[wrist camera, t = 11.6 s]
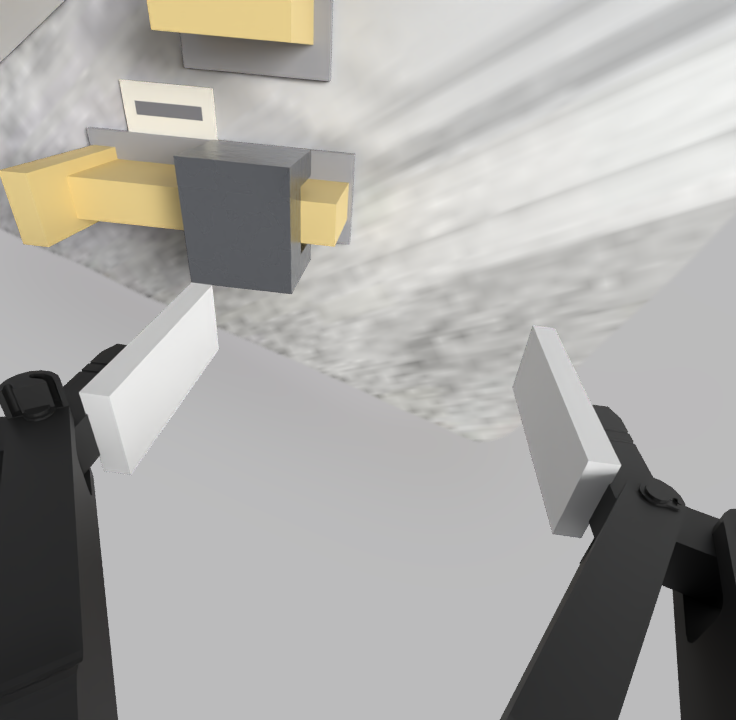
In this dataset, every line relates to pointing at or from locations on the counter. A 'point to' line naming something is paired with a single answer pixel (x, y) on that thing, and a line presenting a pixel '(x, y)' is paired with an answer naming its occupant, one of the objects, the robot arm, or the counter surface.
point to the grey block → (244, 214)
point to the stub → (251, 35)
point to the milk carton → (21, 20)
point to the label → (169, 109)
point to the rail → (150, 189)
